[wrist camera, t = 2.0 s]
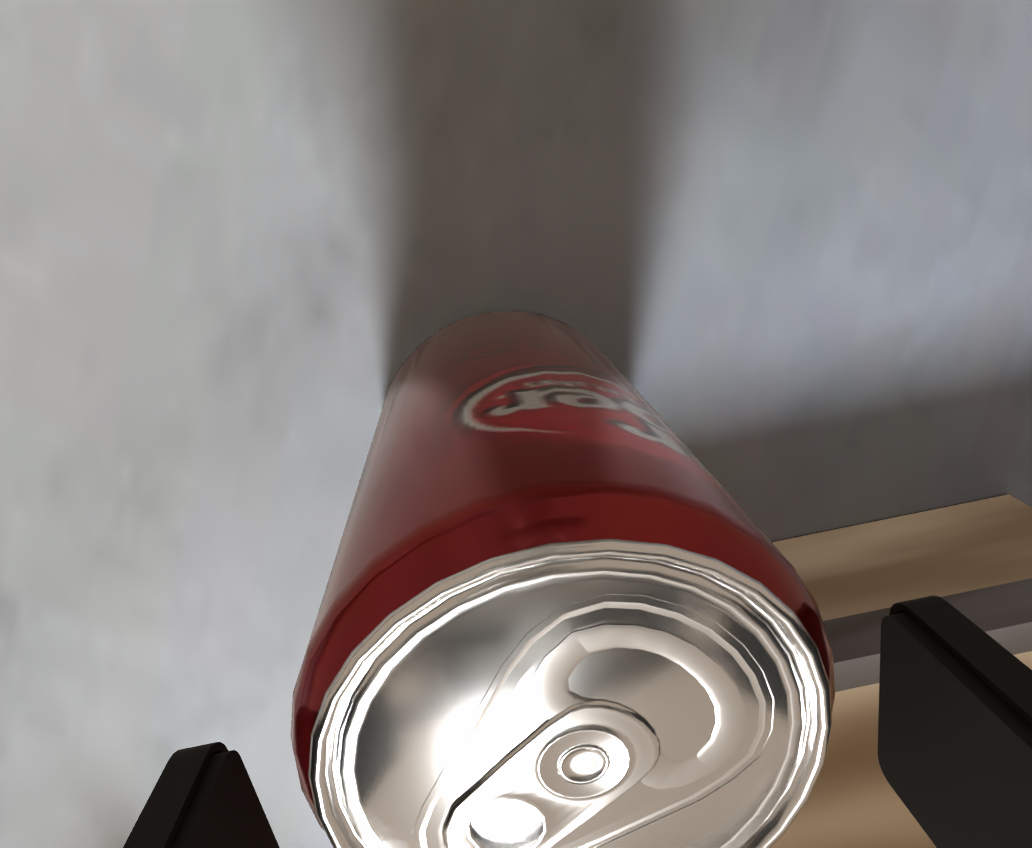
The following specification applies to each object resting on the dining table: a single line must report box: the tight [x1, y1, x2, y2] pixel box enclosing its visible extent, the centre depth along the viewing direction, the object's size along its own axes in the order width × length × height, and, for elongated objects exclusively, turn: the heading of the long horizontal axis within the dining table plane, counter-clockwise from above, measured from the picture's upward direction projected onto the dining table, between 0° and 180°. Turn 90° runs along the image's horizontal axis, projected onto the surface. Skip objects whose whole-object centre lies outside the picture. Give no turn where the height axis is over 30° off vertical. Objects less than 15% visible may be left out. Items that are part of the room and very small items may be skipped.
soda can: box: [291, 311, 835, 848], centre depth 13 cm, size 7×7×12 cm
